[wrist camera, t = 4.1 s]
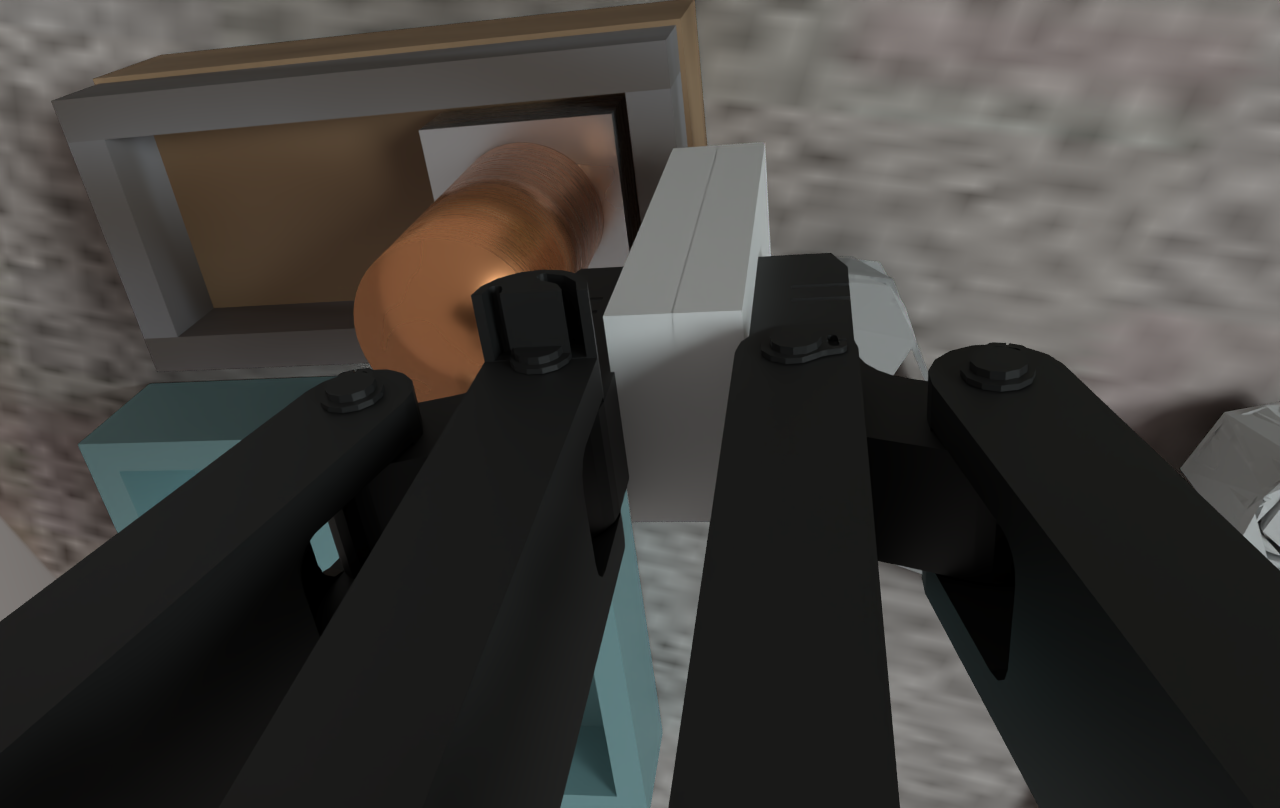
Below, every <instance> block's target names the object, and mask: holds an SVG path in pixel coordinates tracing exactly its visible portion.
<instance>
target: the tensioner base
mask: <svg viewBox="0 0 1280 808" xmlns="http://www.w3.org/2000/svg"><path fill="white" fill-rule="evenodd" d="M93 81H94V84H95V85H94V86H91V87H88V88H86V89H83V90H80V91H77V92H75V93H72V94H69V95H66V96H64V97H61V98H58V99H55V100H53V101H51V102H52V105H53V107H54V110H55V112H56V115H57V117H58V120H59V122H60V125H61V128H62V130H63V133H64V135H65V138H66V140H67V143H68V145H69V148H70V151H71V153H72V156H73V158H74V161H75V163H76V166H77V168H78V171H79V174H80V176H81V179H82V181H83V184H84V186H85V189H86V191H87V194H88V197H89V199H90V202H91V204H92V207H93V209H94V212H95V214H96V217H97V220H98V222H99V225H100V227H101V230H102V232H103V235H104V237H105V240H106V243H107V245H108V248H109V250H110V253H111V255H112V258H113V260H114V263H115V266H116V268H117V271H118V273H119V276H120V278H121V281H122V283H123V286H124V288H125V291H126V294H127V296H128V299H129V301H130V304H131V306H132V309H133V311H134V314H135V317H136V319H137V322H138V324H139V327H140V329H141V332H142V334H143V337H144V340H145V342H146V345H147V347H148V350H149V352H150V355H151V357H152V360H153V363H154V365H155V368H156V370H157V372H169V371H193V370H216V369H240V368H264V367H287V366H311V365H335V364H358V363H369V362H368V361H367V359H366V357H365V355H364V353H363V351H362V349H361V347H360V344H359V341H358V338H357V335H356V331H355V326H354V314H353V312H354V301H355V296H356V292H357V289H358V286H359V284H360V281H361V279H362V278H363V276H364V274H365V273H366V271H367V270H368V269H369V267H370V266H371V265H372V264H373V263H374V262H375V261H376V260H377V259H378V258H379V257H380V256H381V255H382V254H383V253H384V252H385V251H386V250H387V249H388V248H389V247H390V246H391V245H392V244H393V243H394V242H395V241H396V240H397V239H398V238H399V237H400V236H401V235H402V234H403V233H404V232H405V231H406V230H407V229H408V228H409V227H410V226H411V225H412V224H413V223H414V222H415V221H416V220H417V219H418V218H419V217H420V216H421V215H422V214H423V213H424V212H425V211H426V210H427V209H428V208H429V207H430V206H431V205H432V204H433V203H434V197H433V193H432V188H431V184H430V179H429V175H428V170H427V166H426V161H425V157H424V152H423V148H422V143H421V139H420V134H419V130H420V129H421V128H422V127H424V126H425V125H426V124H428V123H429V122H430V121H431V120H433V119H434V118H435V117H437V116H438V115H439V114H440V113H442V112H446V111H457V110H468V109H480V108H491V107H502V106H513V105H524V104H535V103H546V102H558V101H569V100H580V99H591V98H602V97H613V96H624V100H625V108H626V116H627V124H628V132H629V141H630V149H631V157H632V165H633V173H634V181H635V189H636V198H637V206H638V214H639V222H640V226H641V224H642V222H643V219H644V217H645V214H646V212H647V210H648V207H649V205H650V202H651V200H652V198H653V195H654V193H655V190H656V188H657V186H658V183H659V181H660V178H661V176H662V174H663V171H664V169H665V166H666V164H667V162H668V159H669V157H670V154H671V152H672V150H673V148H686V147H700V146H707V138H706V127H705V115H704V103H703V92H702V80H701V69H700V57H699V45H698V34H697V22H696V10H695V0H674V1H664V2H655V3H645V4H636V5H627V6H617V7H608V8H598V9H589V10H580V11H570V12H561V13H551V14H542V15H533V16H523V17H514V18H504V19H495V20H485V21H476V22H467V23H457V24H448V25H438V26H429V27H420V28H410V29H401V30H391V31H382V32H373V33H363V34H354V35H344V36H335V37H326V38H316V39H307V40H297V41H288V42H279V43H269V44H260V45H250V46H241V47H232V48H222V49H213V50H203V51H194V52H185V53H175V54H166V55H160V56H157V57H154V58H151V59H148V60H145V61H143V62H140V63H137V64H134V65H131V66H128V67H126V68H123V69H120V70H117V71H114V72H111V73H109V74H106V75H103V76H100V77H97V78H94V79H93Z"/></svg>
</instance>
